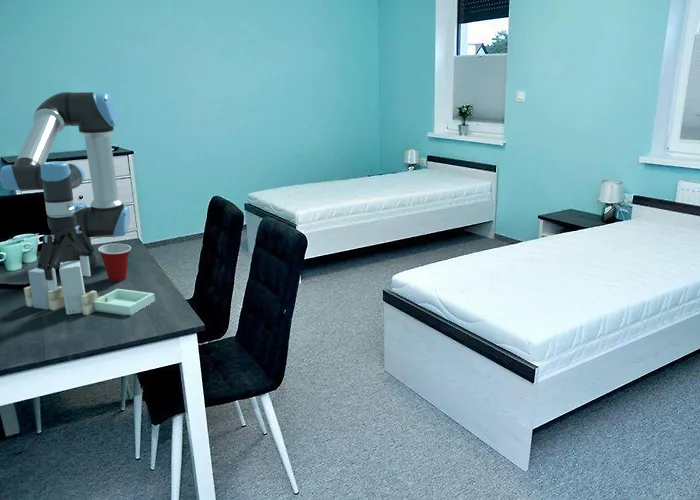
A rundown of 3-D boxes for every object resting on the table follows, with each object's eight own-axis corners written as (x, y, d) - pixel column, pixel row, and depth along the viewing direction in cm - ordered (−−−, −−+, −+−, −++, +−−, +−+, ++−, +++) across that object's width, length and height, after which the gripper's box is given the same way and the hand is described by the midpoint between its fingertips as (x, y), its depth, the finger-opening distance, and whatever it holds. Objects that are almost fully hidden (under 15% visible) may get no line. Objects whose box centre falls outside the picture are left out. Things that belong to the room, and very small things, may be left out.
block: (46, 301, 179) (40, 266, 176) (59, 303, 178) (53, 267, 174) (33, 307, 175) (27, 271, 171) (46, 309, 173) (41, 272, 170)
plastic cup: (120, 285, 194) (116, 252, 191) (95, 282, 197) (91, 249, 194) (140, 276, 204) (137, 244, 201) (116, 272, 207) (113, 241, 204)
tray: (118, 297, 184) (117, 288, 183) (155, 302, 180) (154, 293, 179) (92, 310, 173) (91, 301, 172) (131, 316, 169) (130, 306, 168)
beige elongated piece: (48, 296, 184) (46, 279, 182) (108, 304, 177) (106, 286, 176) (26, 306, 175) (23, 288, 174) (87, 315, 169) (85, 296, 167)
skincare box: (87, 312, 171) (81, 266, 167) (65, 315, 169) (58, 269, 164) (86, 303, 178) (81, 258, 174) (65, 305, 176) (59, 261, 172)
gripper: (37, 225, 152) (48, 297, 158) (101, 207, 175) (108, 271, 181) (15, 222, 154) (27, 294, 160) (81, 206, 177) (89, 269, 183)
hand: (70, 282), depth 171 cm, fingers open, 13 cm apart
